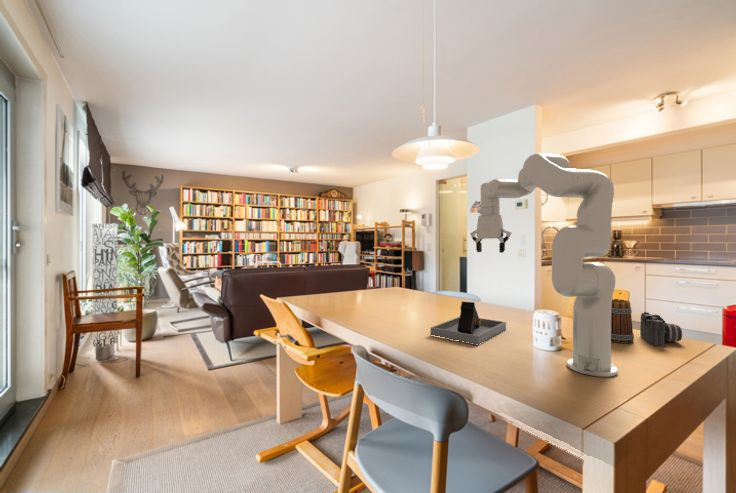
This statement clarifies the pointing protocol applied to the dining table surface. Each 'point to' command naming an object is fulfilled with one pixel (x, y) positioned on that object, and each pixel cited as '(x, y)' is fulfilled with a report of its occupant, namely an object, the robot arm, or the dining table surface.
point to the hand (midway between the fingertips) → (490, 252)
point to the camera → (658, 330)
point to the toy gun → (468, 318)
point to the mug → (621, 322)
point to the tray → (480, 334)
